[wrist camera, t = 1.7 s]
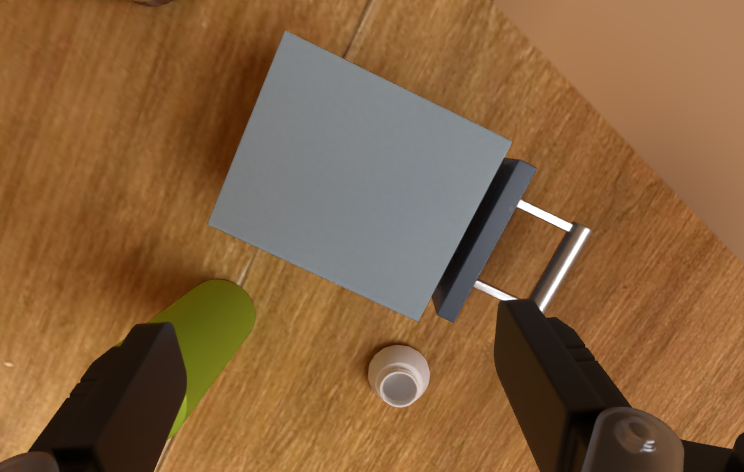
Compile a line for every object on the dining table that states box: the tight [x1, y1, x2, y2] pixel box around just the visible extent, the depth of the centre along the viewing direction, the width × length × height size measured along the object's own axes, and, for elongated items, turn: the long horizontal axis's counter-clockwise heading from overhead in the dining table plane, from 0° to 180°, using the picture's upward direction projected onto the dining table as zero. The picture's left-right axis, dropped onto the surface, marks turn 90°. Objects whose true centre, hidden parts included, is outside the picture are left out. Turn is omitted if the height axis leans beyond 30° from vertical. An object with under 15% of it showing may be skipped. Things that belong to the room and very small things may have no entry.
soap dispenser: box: [22, 279, 255, 454], centre depth 28 cm, size 6×7×20 cm
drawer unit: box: [207, 31, 512, 321], centre depth 30 cm, size 14×12×10 cm
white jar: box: [368, 345, 430, 407], centre depth 37 cm, size 5×3×5 cm
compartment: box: [432, 158, 593, 322], centre depth 31 cm, size 19×10×8 cm, turn 65°
